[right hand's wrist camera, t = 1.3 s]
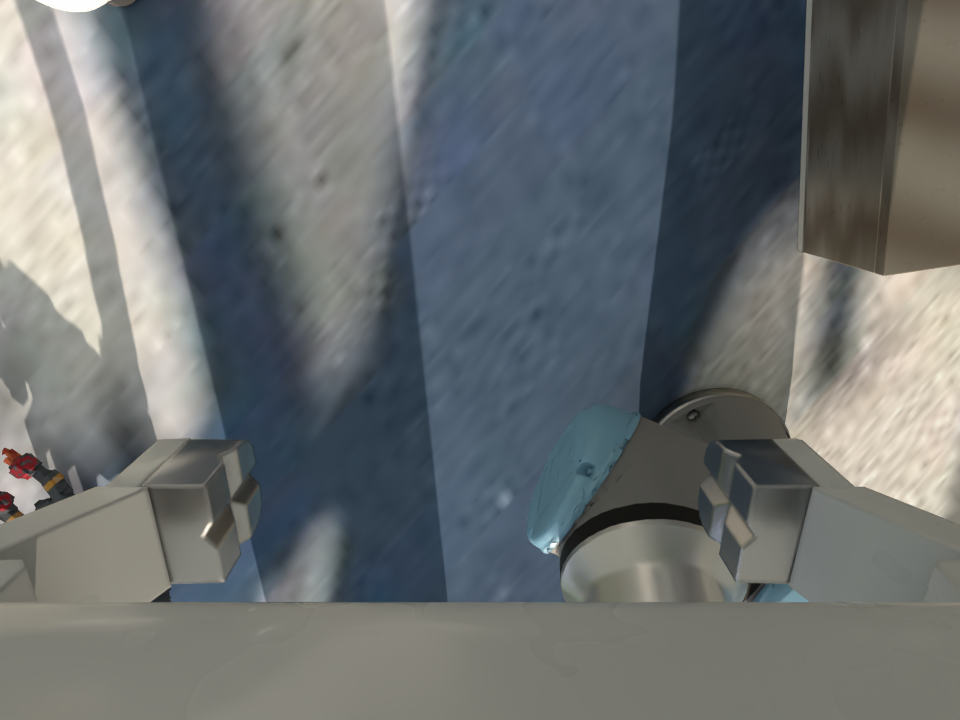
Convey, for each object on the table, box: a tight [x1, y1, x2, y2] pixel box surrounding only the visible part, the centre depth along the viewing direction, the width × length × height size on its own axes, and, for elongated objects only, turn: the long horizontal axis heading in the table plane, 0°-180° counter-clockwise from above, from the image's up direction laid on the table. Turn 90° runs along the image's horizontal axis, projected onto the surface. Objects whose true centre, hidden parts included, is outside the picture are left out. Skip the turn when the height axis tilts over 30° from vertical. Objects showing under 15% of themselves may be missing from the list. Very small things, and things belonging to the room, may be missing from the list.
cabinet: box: [798, 0, 960, 276], centre depth 43 cm, size 22×10×12 cm, turn 9°
